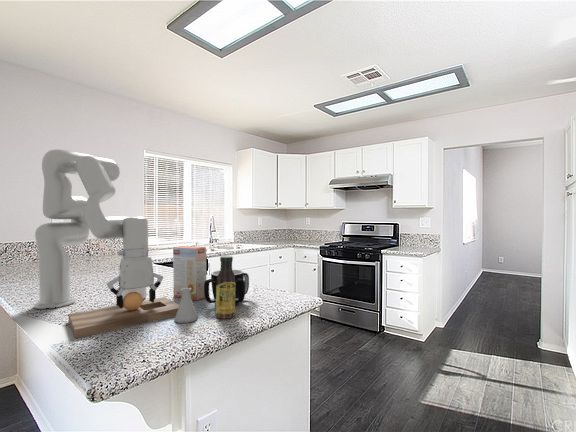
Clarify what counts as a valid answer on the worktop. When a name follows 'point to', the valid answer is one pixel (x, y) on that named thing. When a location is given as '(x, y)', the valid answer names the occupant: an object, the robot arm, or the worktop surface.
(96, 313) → the board
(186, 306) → the flask
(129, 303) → the orange ball
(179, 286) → the cracker box
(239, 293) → the mug
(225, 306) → the sauce bottle
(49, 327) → the worktop surface
